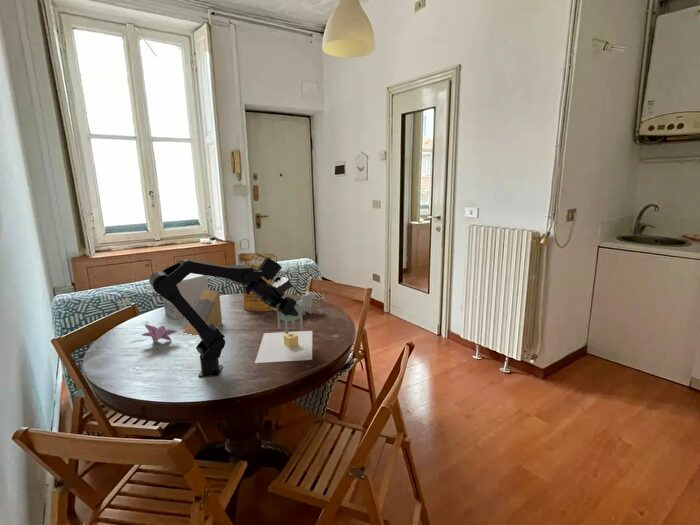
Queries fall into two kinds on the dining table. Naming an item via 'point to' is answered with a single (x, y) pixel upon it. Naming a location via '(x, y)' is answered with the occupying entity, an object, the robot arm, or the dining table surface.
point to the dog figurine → (307, 301)
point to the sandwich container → (207, 310)
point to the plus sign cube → (291, 340)
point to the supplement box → (188, 293)
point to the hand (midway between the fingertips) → (292, 312)
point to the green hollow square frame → (290, 317)
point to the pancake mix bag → (256, 260)
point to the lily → (158, 333)
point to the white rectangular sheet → (284, 348)
